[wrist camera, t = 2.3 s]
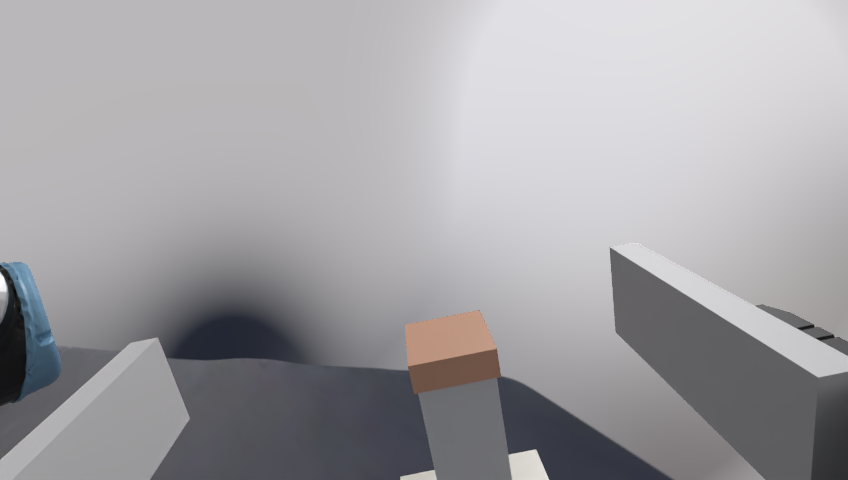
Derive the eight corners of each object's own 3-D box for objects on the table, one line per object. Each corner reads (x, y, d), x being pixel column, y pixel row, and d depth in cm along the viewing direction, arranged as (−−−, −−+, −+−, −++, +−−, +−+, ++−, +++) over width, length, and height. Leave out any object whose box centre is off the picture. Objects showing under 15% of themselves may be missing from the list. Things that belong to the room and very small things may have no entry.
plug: (459, 602, 27) (407, 366, 22) (449, 535, 31) (405, 324, 26) (532, 587, 27) (496, 348, 22) (513, 522, 31) (479, 309, 26)
